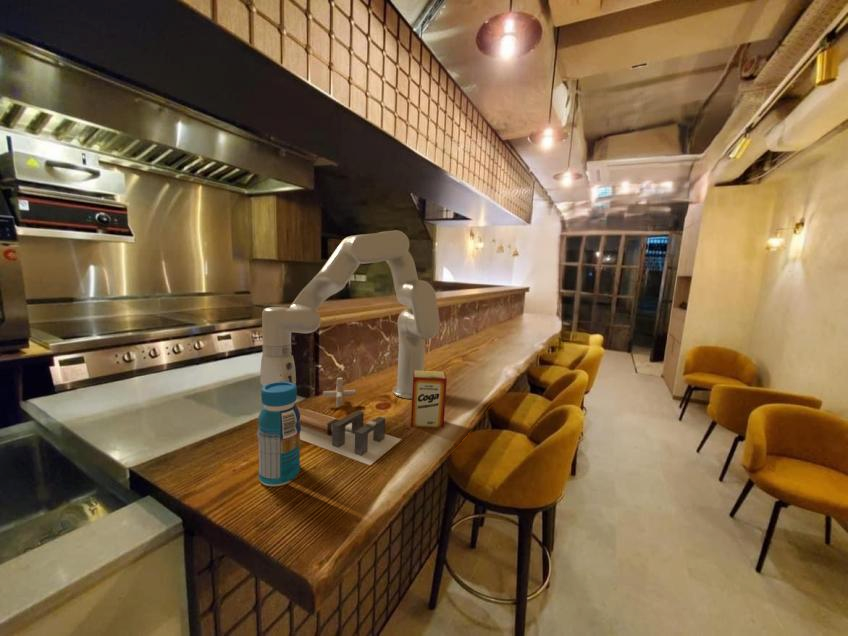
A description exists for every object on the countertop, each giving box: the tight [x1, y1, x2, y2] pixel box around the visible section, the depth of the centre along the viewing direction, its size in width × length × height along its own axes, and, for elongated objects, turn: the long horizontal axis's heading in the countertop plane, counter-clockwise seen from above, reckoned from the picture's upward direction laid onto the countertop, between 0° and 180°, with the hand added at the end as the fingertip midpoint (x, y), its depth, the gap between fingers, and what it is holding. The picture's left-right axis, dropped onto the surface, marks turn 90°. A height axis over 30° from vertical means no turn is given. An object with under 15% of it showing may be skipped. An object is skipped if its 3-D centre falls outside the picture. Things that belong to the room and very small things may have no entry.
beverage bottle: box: [256, 382, 301, 487], centre depth 71 cm, size 8×8×20 cm
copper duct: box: [297, 406, 340, 436], centre depth 92 cm, size 18×3×3 cm, turn 63°
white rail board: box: [300, 408, 402, 466], centre depth 90 cm, size 14×34×2 cm, turn 63°
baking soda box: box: [410, 370, 448, 429], centre depth 98 cm, size 10×6×16 cm
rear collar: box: [332, 409, 365, 448], centre depth 87 cm, size 10×2×6 cm, turn 153°
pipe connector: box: [322, 377, 357, 407], centre depth 107 cm, size 10×10×10 cm
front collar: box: [355, 416, 386, 456], centre depth 84 cm, size 10×2×6 cm, turn 153°
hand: (277, 410), depth 99 cm, fingers closed
